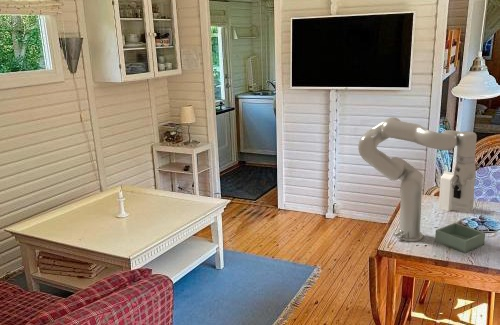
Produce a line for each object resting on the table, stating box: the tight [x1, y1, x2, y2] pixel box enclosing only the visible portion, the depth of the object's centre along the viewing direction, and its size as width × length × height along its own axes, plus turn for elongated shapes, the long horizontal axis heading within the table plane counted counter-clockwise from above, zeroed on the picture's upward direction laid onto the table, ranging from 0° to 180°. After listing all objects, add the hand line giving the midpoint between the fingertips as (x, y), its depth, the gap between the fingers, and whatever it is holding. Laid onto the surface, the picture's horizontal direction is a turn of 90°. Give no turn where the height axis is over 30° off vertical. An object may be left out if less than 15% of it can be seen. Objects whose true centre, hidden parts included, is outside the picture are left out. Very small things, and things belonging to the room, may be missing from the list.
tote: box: [434, 222, 486, 254], centre depth 211 cm, size 15×16×6 cm
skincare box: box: [451, 177, 476, 213], centre depth 205 cm, size 8×7×16 cm
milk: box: [438, 170, 454, 212], centre depth 250 cm, size 6×6×22 cm
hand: (462, 195), depth 205 cm, fingers closed on skincare box, 7 cm apart
